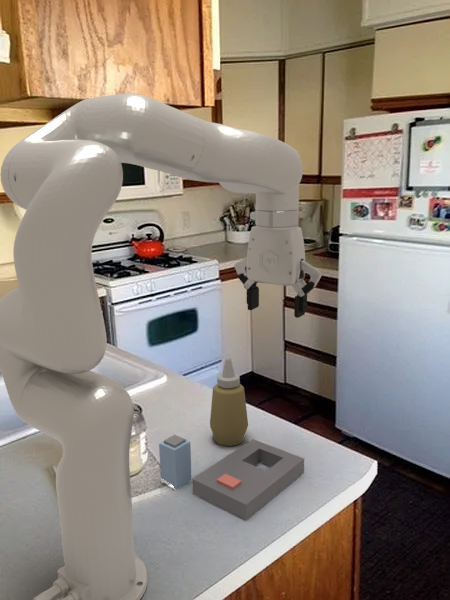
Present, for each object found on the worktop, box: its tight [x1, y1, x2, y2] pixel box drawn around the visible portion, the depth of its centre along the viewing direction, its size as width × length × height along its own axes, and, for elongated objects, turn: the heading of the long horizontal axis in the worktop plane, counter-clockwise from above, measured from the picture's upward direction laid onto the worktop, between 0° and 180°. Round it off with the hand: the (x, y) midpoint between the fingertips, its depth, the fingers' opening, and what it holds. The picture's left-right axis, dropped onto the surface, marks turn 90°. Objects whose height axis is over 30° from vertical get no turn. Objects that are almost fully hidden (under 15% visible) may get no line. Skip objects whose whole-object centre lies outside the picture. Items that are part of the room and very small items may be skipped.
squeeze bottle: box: [209, 358, 249, 447], centre depth 115 cm, size 8×8×18 cm
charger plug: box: [158, 434, 192, 491], centre depth 101 cm, size 4×4×8 cm
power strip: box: [191, 438, 305, 521], centre depth 101 cm, size 18×12×4 cm, turn 141°
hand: (275, 312), depth 103 cm, fingers open, 9 cm apart
